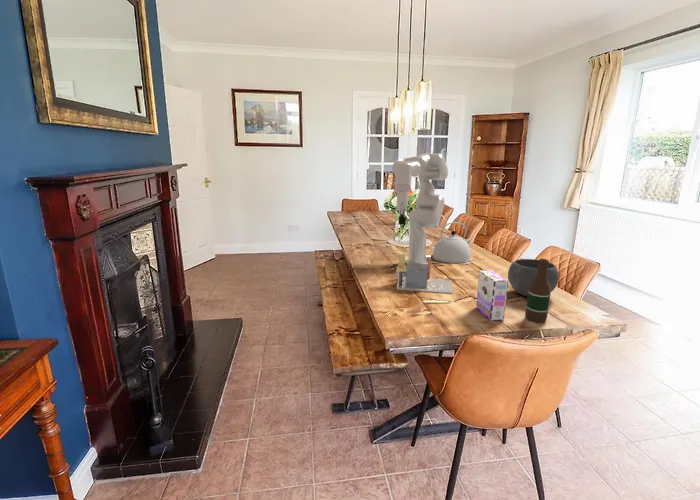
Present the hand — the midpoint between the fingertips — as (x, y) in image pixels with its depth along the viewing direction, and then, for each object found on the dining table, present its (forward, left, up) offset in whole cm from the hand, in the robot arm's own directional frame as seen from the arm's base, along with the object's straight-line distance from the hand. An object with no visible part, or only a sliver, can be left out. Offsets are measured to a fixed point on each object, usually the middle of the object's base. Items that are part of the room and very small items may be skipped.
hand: (401, 224), depth 191 cm
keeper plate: (+9, +11, -20) cm, 24 cm away
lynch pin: (+5, +14, -25) cm, 29 cm away
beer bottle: (-9, +70, -28) cm, 76 cm away
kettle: (-52, -9, -28) cm, 59 cm away
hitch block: (0, +18, -28) cm, 33 cm away
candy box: (+2, +57, -28) cm, 63 cm away
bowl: (-32, +54, -28) cm, 68 cm away
